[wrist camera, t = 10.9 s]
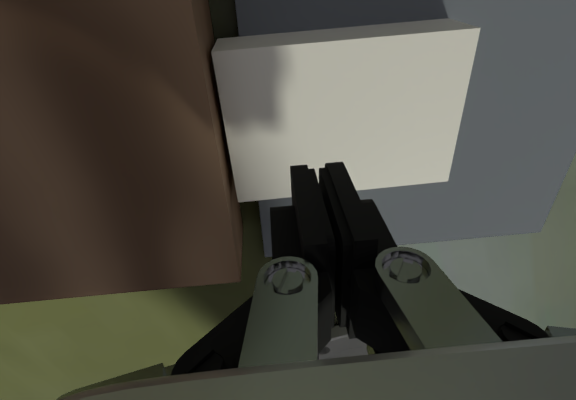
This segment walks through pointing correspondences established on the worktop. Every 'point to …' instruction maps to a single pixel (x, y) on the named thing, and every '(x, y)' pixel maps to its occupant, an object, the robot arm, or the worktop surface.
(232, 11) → the worktop surface
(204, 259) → the deck
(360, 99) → the tile
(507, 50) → the mat
